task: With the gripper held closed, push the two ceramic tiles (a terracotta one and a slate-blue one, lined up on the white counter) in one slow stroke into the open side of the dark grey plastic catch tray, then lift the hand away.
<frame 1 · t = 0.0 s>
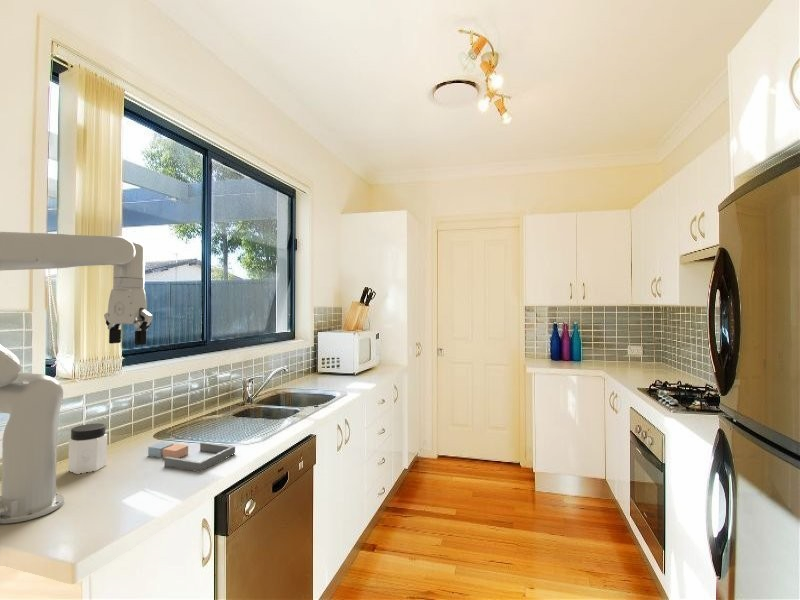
hand: (127, 343, 119), 37 cm above the counter, tool pointing down, fingers open, 9 cm apart
catch tray: (199, 459, 128), on the counter
jar: (87, 468, 121), on the counter
tile 2: (175, 456, 131), on the counter
tile 1: (160, 454, 133), on the counter
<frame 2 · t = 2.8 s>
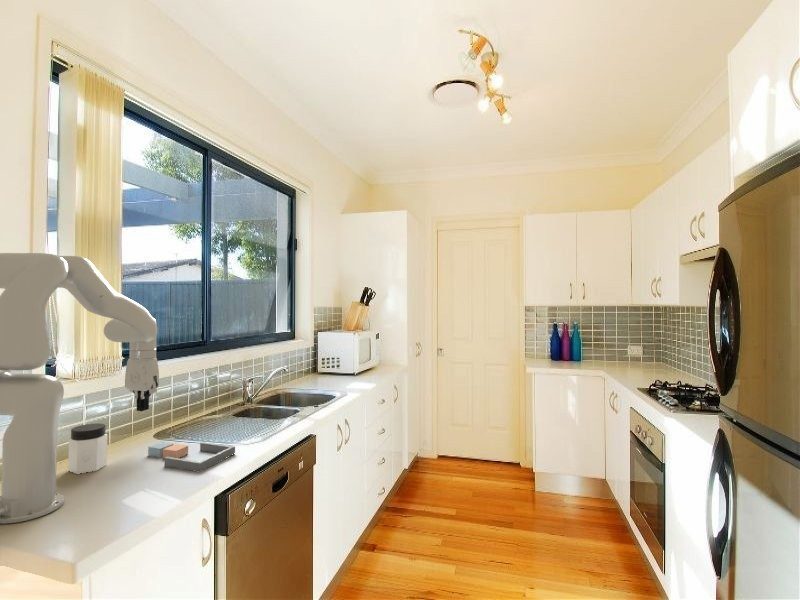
hand: (142, 410, 136), 13 cm above the counter, tool pointing down, fingers closed
nothing on the counter moved.
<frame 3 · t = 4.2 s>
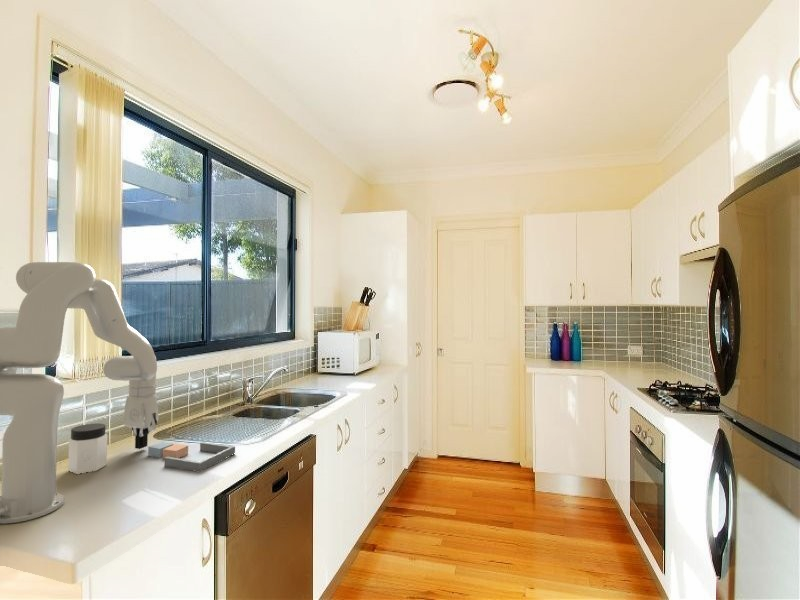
hand: (141, 447, 136), 1 cm above the counter, tool pointing down, fingers closed
nothing on the counter moved.
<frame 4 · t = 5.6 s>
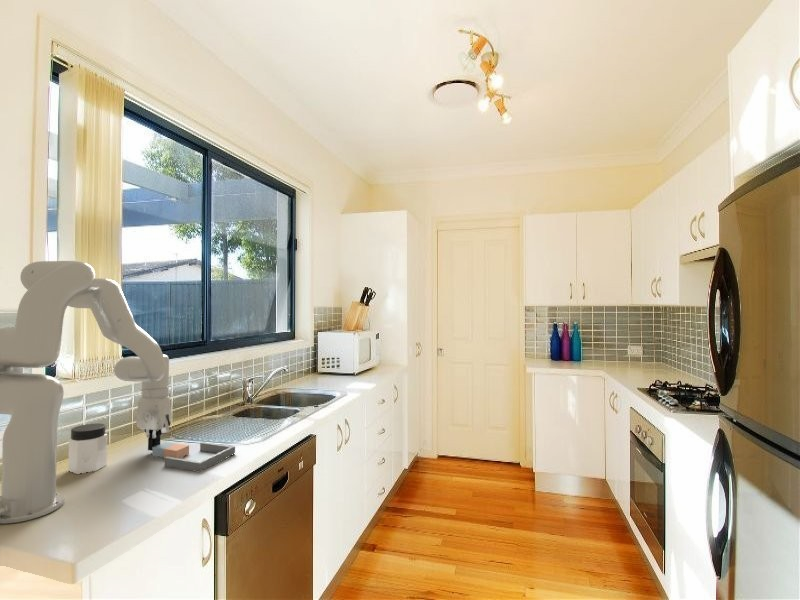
hand: (154, 449, 134), 1 cm above the counter, tool pointing down, fingers closed
tile 1: (165, 454, 133), on the counter, touching gripper
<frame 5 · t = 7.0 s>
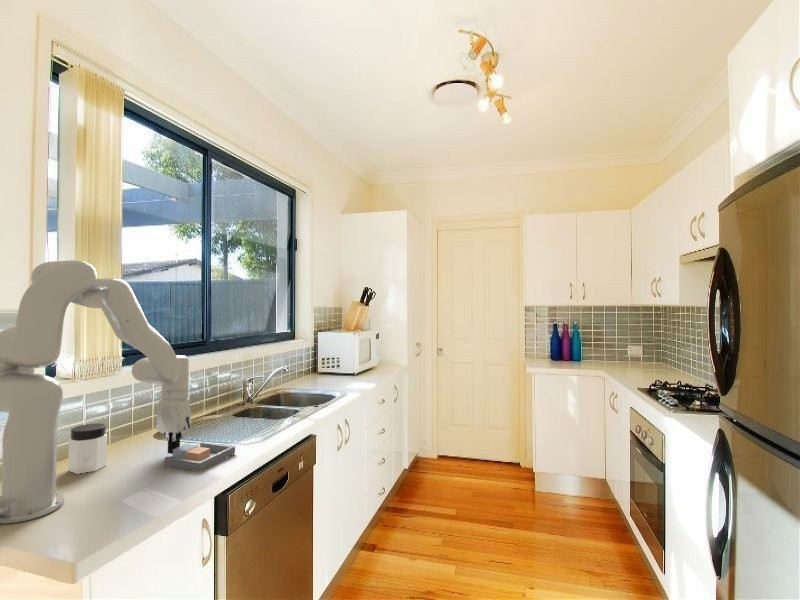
hand: (173, 452, 132), 1 cm above the counter, tool pointing down, fingers closed
tile 2: (197, 459, 129), on the counter
tile 1: (185, 456, 131), on the counter, touching gripper
everything else where it was.
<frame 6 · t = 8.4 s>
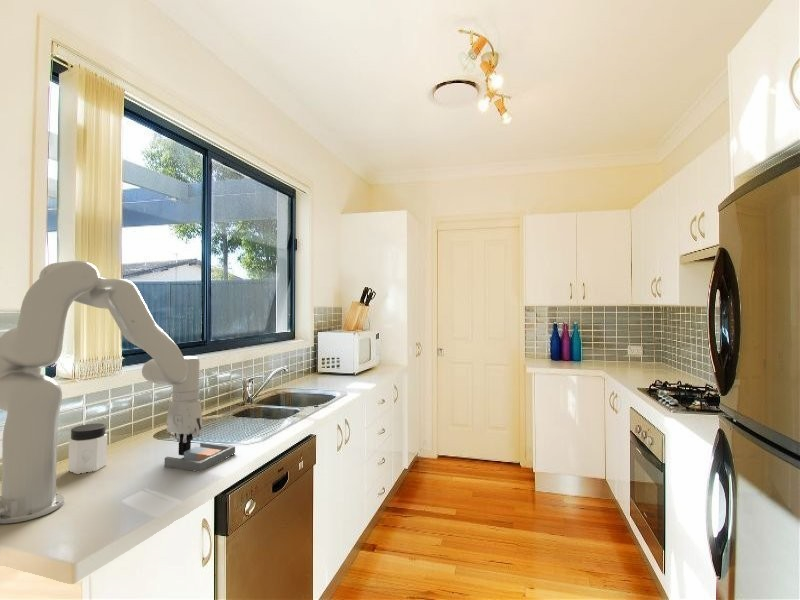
hand: (184, 453, 130), 1 cm above the counter, tool pointing down, fingers closed
tile 2: (209, 461, 128), on the counter
tile 1: (196, 459, 129), on the counter
everything else where it was.
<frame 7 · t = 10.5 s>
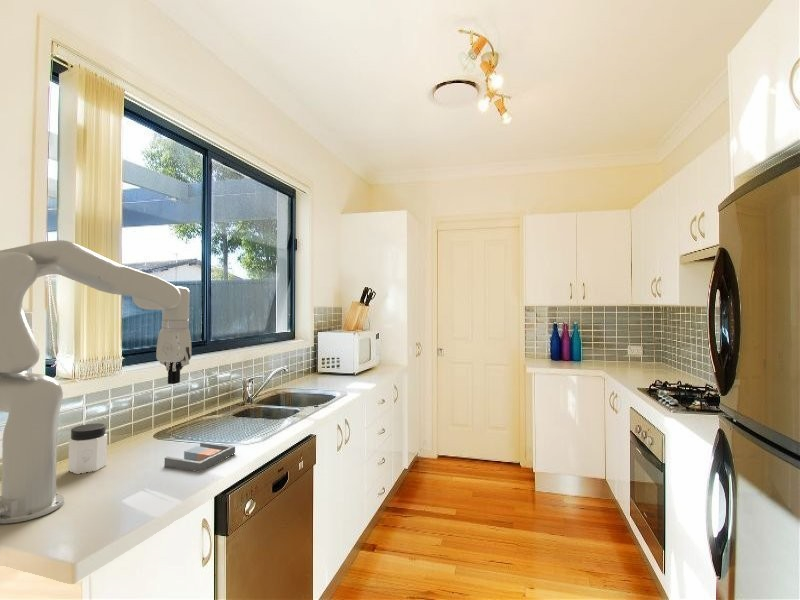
hand: (173, 383, 131), 23 cm above the counter, tool pointing down, fingers closed
nothing on the counter moved.
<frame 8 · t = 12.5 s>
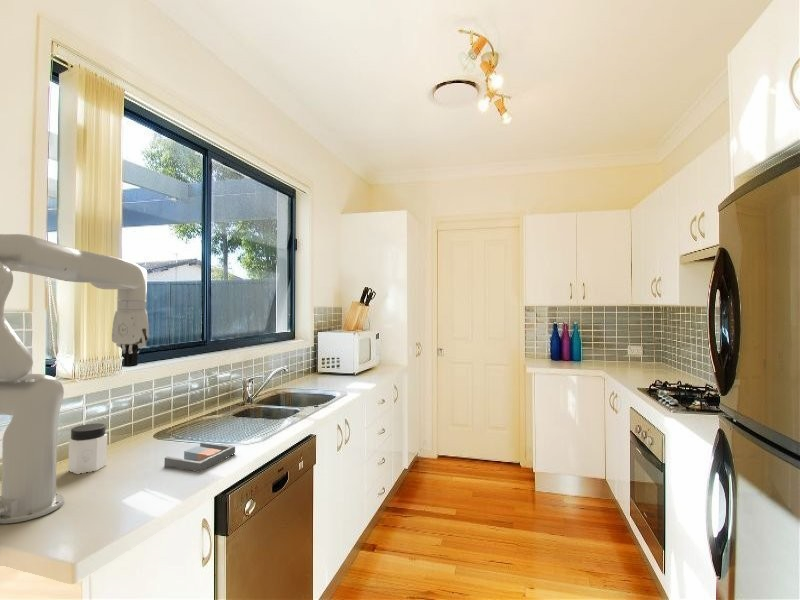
hand: (130, 366, 127), 29 cm above the counter, tool pointing down, fingers closed
nothing on the counter moved.
at the end: tile 2 inside the target area (3.1 cm from its centre), on the counter; tile 1 inside the target area (2.0 cm from its centre), on the counter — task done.
